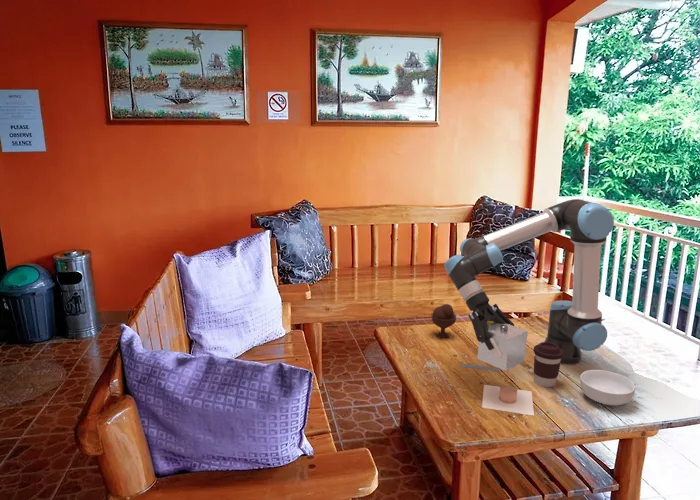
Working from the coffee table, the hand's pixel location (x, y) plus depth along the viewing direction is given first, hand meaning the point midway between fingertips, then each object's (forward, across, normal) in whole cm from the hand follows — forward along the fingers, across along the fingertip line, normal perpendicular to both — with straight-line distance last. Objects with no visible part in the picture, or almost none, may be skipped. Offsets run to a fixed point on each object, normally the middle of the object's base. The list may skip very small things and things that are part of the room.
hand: (509, 353), depth 171 cm
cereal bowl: (+28, -27, +3) cm, 39 cm away
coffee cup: (+14, -20, -10) cm, 27 cm away
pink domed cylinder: (+12, +1, -10) cm, 16 cm away
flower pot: (-12, -41, -37) cm, 57 cm away
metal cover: (+1, 0, -5) cm, 5 cm away
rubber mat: (+1, -8, -24) cm, 25 cm away
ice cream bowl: (-22, -26, -47) cm, 58 cm away
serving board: (+13, +1, -11) cm, 17 cm away
